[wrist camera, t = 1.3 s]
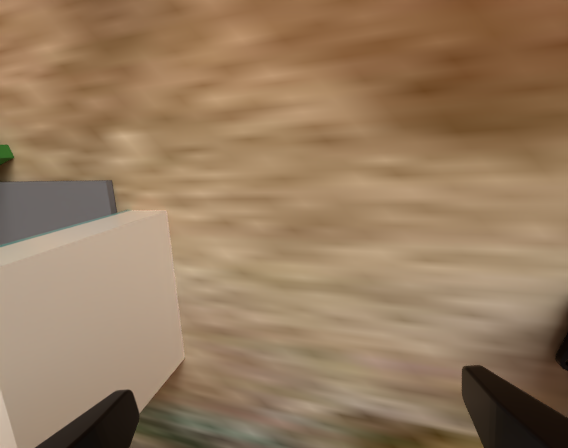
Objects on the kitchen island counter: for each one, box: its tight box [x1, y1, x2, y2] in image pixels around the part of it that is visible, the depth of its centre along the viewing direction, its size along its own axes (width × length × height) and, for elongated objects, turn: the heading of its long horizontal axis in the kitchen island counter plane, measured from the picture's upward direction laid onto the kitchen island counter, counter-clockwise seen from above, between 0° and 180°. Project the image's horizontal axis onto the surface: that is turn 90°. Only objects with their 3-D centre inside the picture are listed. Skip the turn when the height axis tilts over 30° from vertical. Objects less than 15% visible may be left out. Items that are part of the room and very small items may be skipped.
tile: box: [0, 210, 185, 448], centre depth 17 cm, size 3×11×11 cm, turn 2°
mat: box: [0, 180, 117, 245], centre depth 24 cm, size 12×15×1 cm
